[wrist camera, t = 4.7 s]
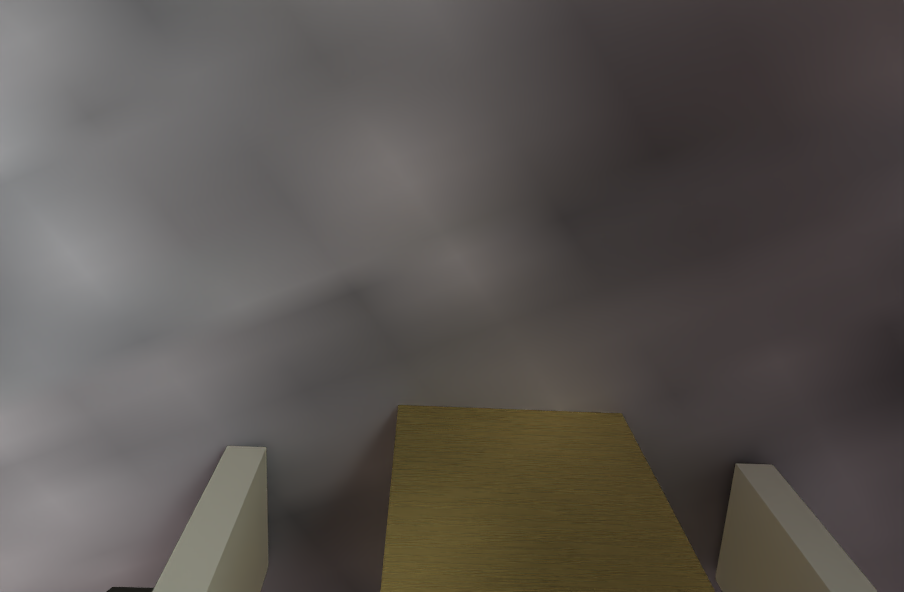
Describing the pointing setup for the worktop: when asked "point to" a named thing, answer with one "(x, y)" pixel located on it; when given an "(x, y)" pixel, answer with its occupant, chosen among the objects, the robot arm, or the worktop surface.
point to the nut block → (528, 506)
